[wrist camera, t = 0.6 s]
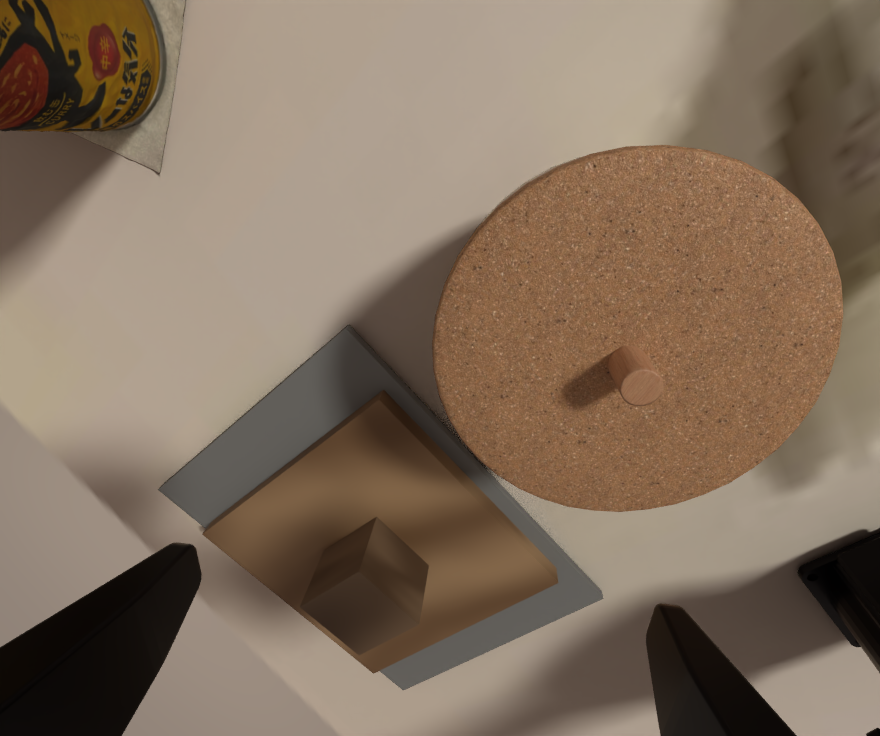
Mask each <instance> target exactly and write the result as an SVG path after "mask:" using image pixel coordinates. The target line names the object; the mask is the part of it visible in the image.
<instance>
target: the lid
mask: <svg viewBox="0 0 880 736" xmlns="http://www.w3.org/2000/svg"><path fill="white" fill-rule="evenodd" d="M203 535H204V536H205V537H206V538H208V539H209V540H210V541H211V542H212V543H214V544H215V545H216V546H217V547H219V548H220V549H221V550H222V551H224V552H225V553H226V554H227V555H228V556H230V557H231V558H232V559H233V560H235V561H236V562H237V563H238V564H240V565H241V566H242V567H243V568H244V569H246V570H247V571H248V572H249V573H251V574H252V575H253V576H254V577H256V578H257V579H258V580H259V581H260V582H262V583H263V584H264V585H265V586H267V587H268V588H269V589H270V590H271V591H273V592H274V593H275V594H276V595H278V596H279V597H280V598H281V599H283V600H284V601H285V602H286V603H287V604H289V605H290V606H291V607H292V608H294V609H295V610H296V611H297V612H299V613H300V614H301V615H302V616H303V617H305V618H306V619H307V620H308V621H310V622H311V623H312V624H313V625H315V626H316V627H317V628H318V629H319V630H321V631H322V632H323V633H324V634H326V635H327V636H328V637H329V638H331V639H332V640H333V641H334V642H335V643H337V644H338V645H339V646H340V647H342V648H343V649H344V650H345V651H347V652H348V653H349V654H350V655H351V656H353V657H354V658H355V659H356V660H358V661H359V662H360V663H361V664H363V665H364V666H365V667H366V668H367V669H369V670H370V671H371V672H372V673H376V672H378V671H380V670H382V669H384V668H386V667H388V666H390V665H392V664H394V663H396V662H398V661H400V660H402V659H404V658H406V657H408V656H410V655H413V654H415V653H417V652H419V651H421V650H423V649H425V648H427V647H429V646H431V645H433V644H435V643H437V642H439V641H441V640H443V639H445V638H447V637H449V636H451V635H453V634H455V633H457V632H459V631H462V630H464V629H466V628H468V627H470V626H472V625H474V624H476V623H478V622H480V621H482V620H484V619H486V618H488V617H490V616H492V615H494V614H496V613H498V612H500V611H502V610H504V609H506V608H508V607H511V606H513V605H515V604H517V603H519V602H521V601H523V600H525V599H527V598H529V597H531V596H533V595H535V594H537V593H539V592H541V591H543V590H545V589H547V588H549V587H551V586H553V585H555V584H557V583H558V576H557V569H556V567H555V566H554V565H553V564H552V563H551V562H550V561H549V560H548V559H547V558H546V557H545V556H544V555H543V554H542V552H541V551H540V550H539V549H538V548H537V547H536V546H535V545H534V544H533V543H532V542H531V541H530V540H529V539H528V538H527V537H526V536H525V535H524V534H523V533H522V532H521V531H520V530H519V529H518V528H517V527H516V526H515V525H514V524H513V523H512V521H511V520H510V519H509V518H508V517H507V516H506V515H505V514H504V513H503V512H502V511H501V510H500V509H499V508H498V507H497V506H496V505H495V504H494V503H493V502H492V501H491V500H490V499H489V498H488V497H487V496H486V495H485V494H484V493H483V492H482V490H481V489H480V488H479V487H478V486H477V485H476V484H475V483H474V482H473V481H472V480H471V479H470V478H469V477H468V476H467V475H466V474H465V473H464V472H463V471H462V470H461V469H460V468H459V467H458V466H457V465H456V464H455V463H454V462H453V461H452V460H451V458H450V457H449V456H448V455H447V454H446V453H445V452H444V451H443V450H442V449H441V448H440V447H439V446H438V445H437V444H436V443H435V442H434V441H433V440H432V439H431V438H430V437H429V436H428V435H427V434H426V433H425V432H424V431H423V430H422V429H421V427H420V426H419V425H418V424H417V423H416V422H415V421H414V420H413V419H412V418H411V417H410V416H409V415H408V414H407V413H406V412H405V411H404V410H403V409H402V408H401V407H400V406H399V405H398V404H397V403H396V402H395V401H394V400H393V399H392V398H391V396H390V395H389V394H388V393H387V392H386V391H385V390H382V391H381V392H380V393H379V394H377V395H376V396H375V397H373V398H372V399H371V400H369V401H368V402H367V403H365V404H364V405H363V406H362V407H360V408H359V409H358V410H356V411H355V412H354V413H352V414H351V415H350V416H349V417H347V418H346V419H345V420H343V421H342V422H341V423H339V424H338V425H337V426H335V427H334V428H333V429H332V430H330V431H329V432H328V433H326V434H325V435H324V436H322V437H321V438H320V439H319V440H317V441H316V442H315V443H313V444H312V445H311V446H309V447H308V448H307V449H305V450H304V451H303V452H302V453H300V454H299V455H298V456H296V457H295V458H294V459H292V460H291V461H290V462H289V463H287V464H286V465H285V466H283V467H282V468H281V469H279V470H278V471H277V472H275V473H274V474H273V475H272V476H270V477H269V478H268V479H266V480H265V481H264V482H262V483H261V484H260V485H259V486H257V487H256V488H255V489H253V490H252V491H251V492H249V493H248V494H247V495H246V496H244V497H243V498H242V499H240V500H239V501H238V502H236V503H235V504H234V505H232V506H231V507H230V508H229V509H227V510H226V511H225V512H223V513H222V514H221V515H219V516H218V517H217V518H216V519H214V520H213V521H212V522H211V523H210V524H209V526H208V527H207V528H206V530H205V531H204V532H203Z"/></svg>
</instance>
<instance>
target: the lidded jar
mask: <svg viewBox="0 0 880 736" xmlns="http://www.w3.org/2000/svg"><path fill="white" fill-rule="evenodd" d="M842 319H843V302H842V284H841V280H840V276H839V272H838V268H837V265H836V261H835V257H834V253H833V251H832V249H831V247H830V245H829V243H828V241H827V239H826V237H825V235H824V233H823V231H822V229H821V227H820V225H819V224H818V223H817V221H816V220H815V219H814V218H813V216H812V215H811V214H810V213H809V211H808V210H807V209H806V208H805V206H804V205H803V204H802V203H801V201H800V200H799V199H798V198H797V197H796V196H794V195H793V194H792V193H791V192H789V191H788V190H787V189H786V188H785V187H783V186H782V185H781V184H780V183H779V182H777V181H776V180H775V179H774V178H772V177H771V176H769V175H767V174H765V173H763V172H761V171H759V170H757V169H756V168H754V167H752V166H750V165H748V164H746V163H744V162H742V161H740V160H737V159H733V158H730V157H727V156H724V155H721V154H717V153H714V152H711V151H708V150H701V149H693V148H685V147H677V146H670V145H654V146H630V147H622V148H617V149H612V150H608V151H603V152H598V153H593V154H589V155H587V156H583V157H579V158H576V159H573V160H570V161H568V162H565V163H562V164H560V165H557V166H554V167H552V168H550V169H548V170H546V171H544V172H543V173H541V174H539V175H537V176H535V177H534V178H532V179H530V180H528V181H527V182H525V183H524V184H522V185H521V186H520V187H518V188H517V189H516V190H515V191H513V192H512V193H511V194H510V195H508V196H507V197H506V198H504V199H503V200H502V201H501V202H500V203H499V204H498V205H497V206H496V207H495V208H494V209H493V211H492V212H491V213H490V214H489V215H488V216H487V217H486V218H485V219H484V220H483V221H482V223H481V224H480V226H479V227H478V228H477V229H476V230H475V232H474V233H473V235H472V236H471V237H470V239H469V240H468V242H467V243H466V245H465V246H464V248H463V249H462V251H461V252H460V253H459V255H458V257H457V259H456V261H455V263H454V265H453V268H452V270H451V272H450V274H449V276H448V278H447V280H446V282H445V285H444V288H443V291H442V295H441V298H440V302H439V305H438V309H437V312H436V315H435V323H434V332H433V341H432V350H433V370H434V375H435V379H436V383H437V388H438V392H439V396H440V399H441V401H442V403H443V406H444V408H445V411H446V413H447V416H448V418H449V420H450V422H451V423H452V425H453V426H454V428H455V430H456V431H457V433H458V434H459V436H460V438H461V439H462V441H463V442H464V443H465V444H466V445H467V446H468V448H469V449H470V450H471V451H472V452H473V453H474V454H475V456H476V457H477V458H478V459H479V460H480V461H481V462H483V463H484V464H485V465H486V466H487V467H489V468H490V469H491V470H492V471H493V472H494V473H496V474H497V475H498V476H500V477H502V478H503V479H505V480H506V481H508V482H510V483H511V484H513V485H514V486H516V487H518V488H519V489H521V490H524V491H526V492H528V493H530V494H533V495H535V496H537V497H540V498H542V499H545V500H548V501H552V502H555V503H558V504H561V505H564V506H568V507H574V508H581V509H588V510H596V511H615V512H623V511H634V510H645V509H652V508H657V507H662V506H668V505H673V504H677V503H680V502H683V501H686V500H689V499H692V498H695V497H698V496H701V495H703V494H706V493H708V492H710V491H712V490H715V489H717V488H719V487H721V486H724V485H726V484H728V483H730V482H732V481H733V480H735V479H736V478H738V477H739V476H741V475H743V474H744V473H746V472H747V471H749V470H750V469H752V468H754V467H755V466H756V465H758V464H759V463H760V462H761V461H763V460H764V459H765V458H766V457H768V456H769V455H770V454H772V453H773V452H774V451H775V450H777V449H778V448H779V447H780V446H781V445H782V443H783V442H784V441H785V440H786V439H787V438H788V437H789V436H790V435H791V434H792V433H793V432H794V431H795V429H796V428H797V427H798V426H799V425H800V423H801V422H802V421H803V419H804V418H805V417H806V415H807V414H808V412H809V411H810V410H811V408H812V407H813V406H814V404H815V403H816V401H817V399H818V397H819V395H820V393H821V391H822V389H823V387H824V385H825V383H826V381H827V379H828V377H829V374H830V372H831V369H832V366H833V363H834V360H835V357H836V354H837V351H838V347H839V342H840V334H841V327H842Z"/></svg>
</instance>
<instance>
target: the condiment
mask: <svg viewBox="0 0 880 736" xmlns="http://www.w3.org/2000/svg"><path fill="white" fill-rule="evenodd" d="M185 1H186V0H0V130H1V131H10V130H12V131H41V132H43V131H56V132H57V131H61V132H71V133H73V134H75V135H78V136H80V137H82V138H84V139H86V140H88V141H91V142H93V143H95V144H98V145H100V146H102V147H104V148H106V149H109V150H111V151H113V152H116V153H118V154H120V155H122V156H124V157H126V158H128V159H131V160H133V161H136V162H138V163H140V164H142V165H145V166H146V167H149V168H151V169H153V170H155V171H156V172H158V173H160V169H161V164H162V157H163V150H164V144H165V141H166V132H167V128H168V124H169V117H170V112H171V104H172V99H173V93H174V87H175V79H176V71H177V65H178V56H179V51H180V43H181V37H182V26H183V13H184V8H185Z"/></svg>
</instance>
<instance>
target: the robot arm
mask: <svg viewBox="0 0 880 736" xmlns="http://www.w3.org/2000/svg"><path fill="white" fill-rule="evenodd" d="M797 573H798V575H799V577H800V578H801V580H802V581H803V583H804V584H805V585H806V586H807V588H808V589H809V590H810V592H811V593H812V594H813V596H814V597H815V598H816V599H817V601H818V602H819V603H820V605H821V606H822V607H823V609H824V610H825V611H826V612H827V614H828V615H829V616H830V618H831V619H832V620H833V621H834V623H835V624H836V625H837V627H838V628H839V629H840V631H841V632H842V633H843V634H844V636H845V637H846V638H847V640H848V641H849V642H850V644H851V645H853V646H855V647H862V649H863V650H864V652H865V653H866V654H867V656H868V657H869V659H870V660H871V661H872V663H873V664H874V666H875V667H876V668H877V670H878V671H879V673H880V533H879V534H877V535H874V536H872V537H869V538H867V539H865V540H862V541H860V542H857V543H855V544H853V545H850V546H848V547H845V548H843V549H841V550H838V551H836V552H833V553H831V554H829V555H826V556H824V557H822V558H819V559H817V560H814V561H812V562H810V563H807V564H805V565H803V566H801V567H800V568H799V569H798V572H797ZM200 582H201V569H200V565H199V560H198V556H197V551H196V548H195V547H194V546H193V545H191V544H184V543H172V544H170V545H168V546H166V547H165V548H163V549H161V550H160V551H158V552H156V553H155V554H153V555H151V556H150V557H148V558H146V559H145V560H143V561H142V562H140V563H138V564H137V565H135V566H133V567H132V568H130V569H129V570H127V571H125V572H123V573H122V574H120V575H118V576H117V577H115V578H114V579H112V580H110V581H109V582H107V583H105V584H104V585H102V586H100V587H99V588H97V589H95V590H94V591H92V592H91V593H89V594H88V595H86V596H84V597H82V598H81V599H79V600H77V601H76V602H74V603H72V604H71V605H69V606H67V607H66V608H64V609H62V610H61V611H59V612H58V613H56V614H54V615H53V616H51V617H50V618H48V619H46V620H44V621H43V622H41V623H39V624H38V625H36V626H34V627H33V628H31V629H30V630H28V631H26V632H25V633H23V634H21V635H20V636H18V637H16V638H15V639H13V640H11V641H10V642H8V643H6V644H5V645H4V646H2V647H0V736H122V734H123V732H124V731H125V729H126V727H127V725H128V724H129V722H130V720H131V719H132V717H133V715H134V714H135V712H136V710H137V708H138V706H139V705H140V703H141V701H142V700H143V698H144V696H145V695H146V693H147V691H148V689H149V688H150V685H151V684H152V682H153V681H154V679H155V677H156V675H157V674H158V672H159V670H160V668H161V667H162V665H163V663H164V661H165V659H166V657H167V655H168V653H169V651H170V648H171V646H172V644H173V642H174V640H175V638H176V635H177V633H178V631H179V629H180V627H181V625H182V623H183V621H184V618H185V616H186V614H187V612H188V610H189V607H190V605H191V603H192V601H193V598H194V597H195V595H196V592H197V590H198V588H199V586H200ZM646 646H647V653H648V659H649V666H650V672H651V678H652V685H653V691H654V698H655V704H656V711H657V717H658V723H659V729H660V735H661V736H796V735H795V733H794V732H793V731H792V730H791V729H790V728H789V727H788V726H787V724H786V723H785V722H784V721H783V720H782V719H781V718H780V717H779V715H778V714H777V713H776V712H775V711H774V710H773V709H772V708H771V706H770V705H769V704H768V703H767V702H766V701H765V700H764V699H763V698H762V696H761V695H760V694H759V693H758V692H757V691H756V690H755V689H754V687H753V686H752V685H751V684H750V683H749V682H748V681H747V680H746V678H745V677H744V676H743V675H742V674H741V673H740V672H739V671H738V669H737V668H736V667H735V666H734V665H733V664H732V663H731V662H730V660H729V659H728V658H727V657H726V656H725V655H724V654H723V653H722V652H721V650H720V649H719V648H718V647H717V646H716V645H715V644H714V643H713V641H712V640H711V639H710V638H709V637H708V636H707V635H706V634H705V632H704V631H703V630H702V629H701V628H700V627H699V626H698V625H697V623H696V622H695V621H694V620H693V619H692V618H691V617H690V616H689V615H688V613H687V612H686V611H685V610H684V609H683V608H681V607H680V606H677V605H669V604H657V605H656V607H655V609H654V612H653V615H652V618H651V621H650V624H649V627H648V631H647V635H646ZM866 735H867V736H880V729H879V728H876V729H874V730H872V731H870V732H868V733H867V734H866Z"/></svg>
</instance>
